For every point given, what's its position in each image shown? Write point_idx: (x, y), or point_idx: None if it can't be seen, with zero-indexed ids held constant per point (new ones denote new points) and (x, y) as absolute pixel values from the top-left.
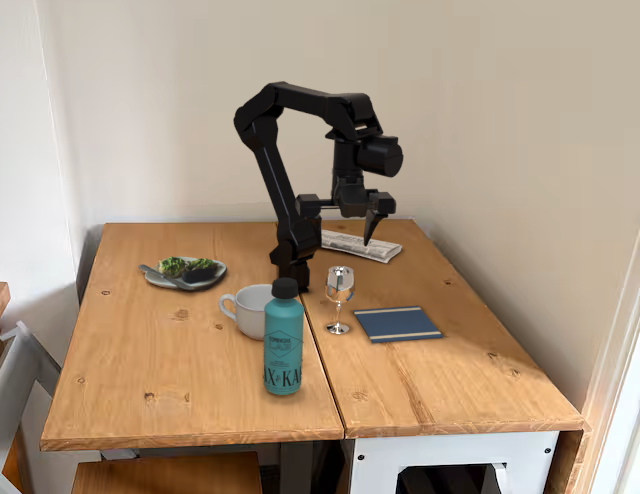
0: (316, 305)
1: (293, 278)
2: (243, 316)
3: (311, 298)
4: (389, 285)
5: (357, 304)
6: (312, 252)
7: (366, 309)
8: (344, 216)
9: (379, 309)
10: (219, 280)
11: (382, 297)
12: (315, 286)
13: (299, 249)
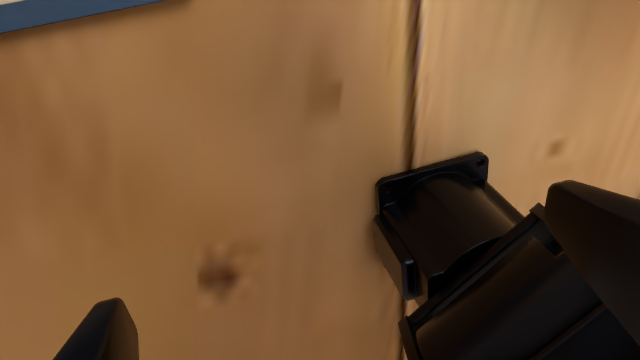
0: (359, 64)
1: (464, 202)
2: None
3: (370, 133)
4: (25, 295)
5: (165, 89)
6: (440, 315)
7: (110, 7)
8: None
9: (30, 11)
10: None
11: (40, 178)
12: (341, 237)
13: (570, 265)
